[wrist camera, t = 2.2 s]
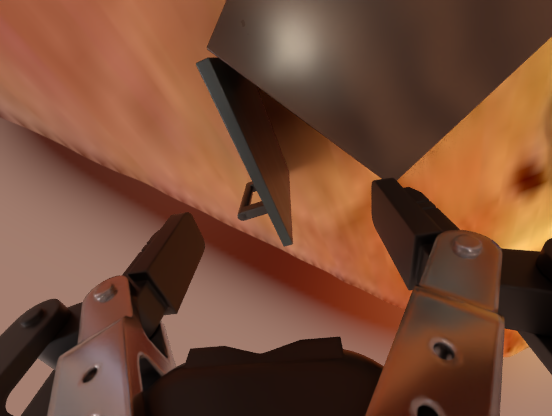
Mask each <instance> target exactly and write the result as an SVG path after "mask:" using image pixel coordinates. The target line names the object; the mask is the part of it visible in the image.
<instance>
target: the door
mask: <svg viewBox="0 0 552 416" xmlns="http://www.w3.org/2000/svg"><path fill="white" fill-rule="evenodd" d="M196 66H197V68H198V70H199V72H200V74H201V76H202V78H203V80H204V82H205V84H206V86H207V88H208V90H209V93H210V95H211V97H212V99H213V101H214V103H215V105H216V107H217V109H218V111H219V113H220V115H221V117H222V119H223V122H224V124H225V126H226V128H227V130H228V132H229V134H230V136H231V138H232V140H233V142H234V144H235V146H236V148H237V151H238V153H239V155H240V157H241V159H242V161H243V163H244V165H245V167H246V169H247V171H248V173H249V175H250V177H251V180H252V182H249V183H247V184H246V188H245V191H244V195H243V198H242V201H241V205H240V208H239V212H238V219H239V220H242V221H244V220H248V219H251V218H254V217H257V216H261V215H264V214H267V213H268V215H269V217H270V219H271V221H272V223H273V225H274V227H275V229H276V231H277V233H278V235H279V238H280V240H281V242H282V244H283V246H288V245H292V244H293V238H292V219H291V200H290V181H289V170H288V168H287V165H286V163H285V160H284V157H283V155H282V152H281V149H280V147H279V144H278V142H277V139H276V136H275V134H274V131H273V128H272V126H271V123H270V121H269V118H268V115H267V113H266V110H265V107H264V105H263V102H262V100H261V97H260V94H259V92H258V89H257V86H256V85H255V84H253V83H252V82H251V81H249V80H248V79H247V78H245V77H244V76H243V75H241V74H240V73H238V72H237V71H236V70H234V69H233V68H232V67H230V66H229V65H228V64H226V63H225V62H224V61H222V60H221V59H220V58H206V59H204V60H202V61H199V62H197V63H196ZM255 191H257V192H258V194H259V196H260V198H261V200H262V201H261V202H258V203H255V204H251V199H252V195H253V192H255ZM250 204H251V205H250Z"/></svg>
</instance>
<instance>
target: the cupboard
mask: <svg viewBox="0 0 552 416" xmlns="http://www.w3.org/2000/svg"><path fill="white" fill-rule="evenodd" d="M551 37H552V0H226V3H225V5H224V7H223V10H222V12H221V15H220V17H219V19H218V22H217V24H216V27H215V29H214V31H213V34H212V36H211V38H210V41H209V43H208V46H207V50H209V51H210V52H211V53H213V54H214V55H216V56H217V57H218V58H220V59H221V60H222V61H224V62H225V63H226V64H228V65H229V66H230V67H232V68H233V69H234V70H236V71H237V72H238V73H240V74H241V75H243V76H244V77H245V78H247V79H248V80H249V81H251V82H252V83H253V84H255V85H256V86H257V87H259V88H260V89H261V90H263V91H264V92H266V93H267V94H268V95H270V96H271V97H272V98H274V99H275V100H276V101H278V102H279V103H280V104H282V105H283V106H284V107H286V108H287V109H288V110H290V111H291V112H293V113H294V114H295V115H297V116H298V117H299V118H301V119H302V120H303V121H305V122H306V123H307V124H309V125H310V126H311V127H313V128H314V129H315V130H317V131H318V132H320V133H321V134H322V135H324V136H325V137H326V138H328V139H329V140H330V141H332V142H333V143H334V144H336V145H337V146H338V147H340V148H341V149H342V150H344V151H345V152H347V153H348V154H349V155H351V156H352V157H353V158H355V159H356V160H357V161H359V162H360V163H361V164H363V165H364V166H365V167H367V168H368V169H369V170H371V171H372V172H374V173H375V174H376V175H378V176H379V177H380V178H382V179H386V178H392V177H393V178H394V179H395V180H396V181H397V180H398V179H399V178H400V177H401V176H402V175H403V174H404V173H405V172H406V171H408V170H409V169H410V168H411V167H412V166H413V165H414V164H415V163H416V162H417V161H418V160H419V159H420V158H422V157H423V156H424V155H425V154H426V153H427V152H428V151H429V150H430V149H431V148H432V147H433V146H434V145H435V144H437V143H438V142H439V141H440V140H441V139H442V138H443V137H444V136H445V135H446V134H447V133H448V132H449V131H451V130H452V129H453V128H454V127H455V126H456V125H457V124H458V123H459V122H460V121H461V120H462V119H463V118H465V117H466V116H467V115H468V114H469V113H470V112H471V111H472V110H473V109H474V108H475V107H476V106H477V105H478V104H480V103H481V102H482V101H483V100H484V99H485V98H486V97H487V96H488V95H489V94H490V93H491V92H492V91H494V90H495V89H496V88H497V87H498V86H499V85H500V84H501V83H502V82H503V81H504V80H505V79H506V78H508V77H509V76H510V75H511V74H512V73H513V72H514V71H515V70H516V69H517V68H518V67H519V66H520V65H522V64H523V63H524V62H525V61H526V60H527V59H528V58H529V57H530V56H531V55H532V54H533V53H534V52H535V51H537V50H538V49H539V48H540V47H541V46H542V45H543V44H544V43H545V42H546V41H547V40H548V39H549V38H551Z"/></svg>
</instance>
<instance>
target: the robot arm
mask: <svg viewBox="0 0 552 416" xmlns="http://www.w3.org/2000/svg"><path fill="white" fill-rule="evenodd" d="M372 220H373V223H374V226H375V228H376V230H377V232H378V234H379V236H380V238H381V240H382V241H383V243H384V245H385V247H386V249H387V251H388V253H389V254H390V256H391V258H392V260H393V262H394V264H395V266H396V267H397V269H398V271H399V273H400V275H401V277H402V279H403V280H404V282H405V284H406V286H407V288H408V290H413V291H412V294H411V296H410V299H409V302H408V304H407V307H406V309H405V312H404V315H403V317H402V320H401V323H400V325H399V328H398V331H397V333H396V336H395V339H394V341H393V344H392V347H391V349H390V352H389V355H388V357H387V360H386V363H385V365H384V366H382V365H381V364H379V363H377V362H376V361H374V360H372V359H370V358H368V357H366V356H364V355H361V354H359V353H356V352H353V351H349V350H344V349H343V348H342V343H341V338H340V337H330V338H318V339H305V340H299V341H296V342H293V343H290V344H288V345H285V346H282V347H280V348H276V349H274V350H271V351H268V352H265V353H261V354H259V353H253V352H249V351H244V350H240V349H236V348H231V347H227V346H219V347H206V348H194V349H190V351H189V354H188V357H187V360H186V363H183V364H181V365H180V366H177V367H176V365H175V361H174V358H173V354H172V351H171V347H170V344H169V340H168V336H167V333H166V329H165V326H164V324H163V323H162V321H161V319H162V317H163V315H170V314H177V312H178V310H179V308H180V305H181V303H182V300H183V298H184V296H185V294H186V292H187V289H188V287H189V284H190V282H191V280H192V278H193V275H194V273H195V271H196V269H197V266H198V264H199V262H200V259H201V257H202V255H203V252H204V249H205V243H204V239H203V237H202V235H201V232H200V230H199V228H198V226H197V224H196V222H195V220H194V218H193V216H192V215H191V214H190V213H189V212H186V213H181V214H175V215H171V216H170V218H169V219H168V220H167V221H166V223H165V224H164V225H163V227H162V228H161V229H160V230H159V231H157V232H156V233H155V234H154V235H153V236H152V237H151V238H150V240H149V241H148V242H147V245H145V246H144V247H143V249H142V252H140V253H139V254H138V255H137V257H136V258H135V259H134V261H133V262H132V263H131V264H130V266H129V267H128V268H127V270H126V271H125V272H124V273H123V275H122V276H115V277H112V278H109V279H107V280H105V281H103V282H102V283H100V284H98V285H97V286H96V287H95V288H93V289H92V290H91V291H90V292H89V293H88V295H87V296H86V297H85V299H84V300H83V302H81V303H79V304H76V305H73V306H70V307H68V308H67V307H66V306H65V305H63V303H61V302H60V301H59V300H58V299H50V300H47V301H44V302H42V303H40V304H38V305H36V306H34V307H33V308H31V309H29V310H28V311H26V312H25V313H24V314H23V315H21V316H20V317H19V318H18V319H17V320H16V321H15V322H14V323H13V324H12V325H11V326H10V327H9V328H8V329H7V330H6V331H5V332H4V333H3V334H2V335H1V336H0V416H13V415H11V414H9V413H8V412H7V411H6V408H5V405H6V400H7V398H8V396H9V394H10V392H11V391H12V389H13V388H14V387H15V386H16V384H17V383H18V382H19V381H20V380H21V378H22V377H23V376H24V374H25V373H26V372H27V371H28V369H29V368H30V367H31V366H32V364H33V363H34V362H35V361H36V359H37V358H38V359H40V360H41V361H43V362H44V363H46V364H47V365H48V366H50V367H51V368H53V369H54V370H53V371H52V373H51V374H50V376H49V377H48V378H47V380H46V381H45V383H44V384H43V386H42V387H41V388H40V390H39V391H38V393H37V394H36V395H35V397H34V398H33V400H32V401H31V402H30V404H29V405H28V406H27V408H26V409H25V411H24V412H23V413H22V415H21V416H500V402H501V383H502V365H503V347H504V328H506V329H511V330H516V331H518V332H519V334H520V335H521V336H522V337H523V339H524V340H525V341H526V343H527V344H528V345H529V346H530V348H531V349H532V350H533V351H534V353H535V354H536V355H537V357H538V358H539V359H540V360H541V362H542V363H543V364H544V365H545V367H546V368H547V369H548V371H549V372H550V373H551V374H552V238H551V239H549V240H547V241H546V242H545V244H544V246H543V248H542V250H541V252H537V251H524V250H512V249H502V248H500V247H499V245H498V244H497V243H495V242H494V241H493V240H491V239H490V238H488V237H486V236H484V235H481V234H478V233H475V232H471V231H466V230H460V229H459V228H458V227H457V226H456V225H455V224H454V223H452V222H451V221H450V220H449V219H448V218H447V217H446V216H445V215H444V214H443V213H442V212H441V211H440V210H439V209H438V208H436V206H435V205H434V204H433V203H432V202H431V201H430V202H429V199H428V198H427V197H426V196H425V195H423V194H422V193H421V192H419V191H417V190H415V189H412V188H410V187H406V188H403V187H402V186H401V185H400V184H399V183H398V182H397V181H396V180H395V179H394V178H393V177H392V178H386V179H380V180H374V181H373V182H372Z"/></svg>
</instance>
